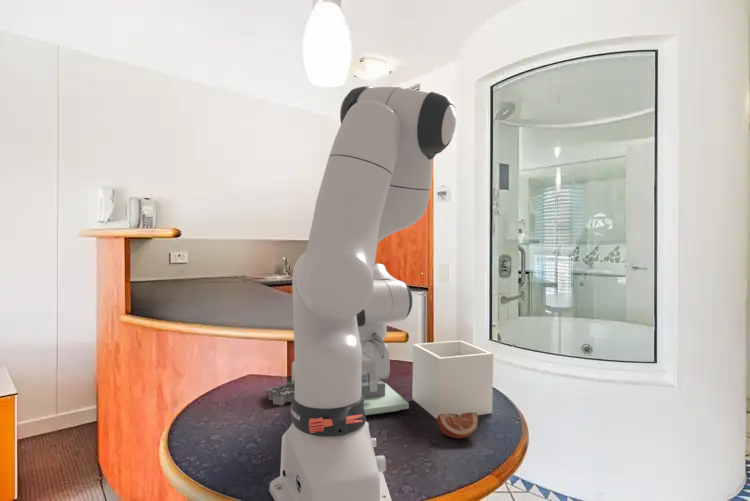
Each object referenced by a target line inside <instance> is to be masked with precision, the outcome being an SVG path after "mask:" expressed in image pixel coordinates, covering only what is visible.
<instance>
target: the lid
mask: <svg viewBox="0 0 750 501" xmlns="http://www.w3.org/2000/svg"><path fill="white" fill-rule="evenodd" d="M368 383H369V381H368V382H364V383H361V393H362V394H363V396H364V403H365V409H366V410H365V415H366V416H372V415H373V416H374V415H378V414H379V415H380V414H387V413H394V412H400V411H402V410H407V409H408V410H409V407H410V406H409V405H410V403H409V402H408V401H407V400H405V398H404V397H402V396H401V395H400V394H398V392H397V391H395V389H393V388H392V387H391V386H389V384H388V383H386V382H384V381H383V380H379V381H378V384H377V391H375V392H371V391H370V390H369V389H368Z"/></svg>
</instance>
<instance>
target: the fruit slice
mask: <svg viewBox="0 0 750 501" xmlns="http://www.w3.org/2000/svg"><path fill="white" fill-rule="evenodd" d="M478 416H479V415H477V412H474V413H473V412H472V413H463V414H461V415H458V414H439V415H438V417H437V419H436V422H437V425H438V427H439V429H440V431H441V432H442V433H443V434H444V435H445V436H447V437H450V438H453V439H465V438H467V437H470V436H471V435H472V434H473V433H474V432H475V431H476V429H477V427H478V424H479V423H478V422H479V417H478Z"/></svg>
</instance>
